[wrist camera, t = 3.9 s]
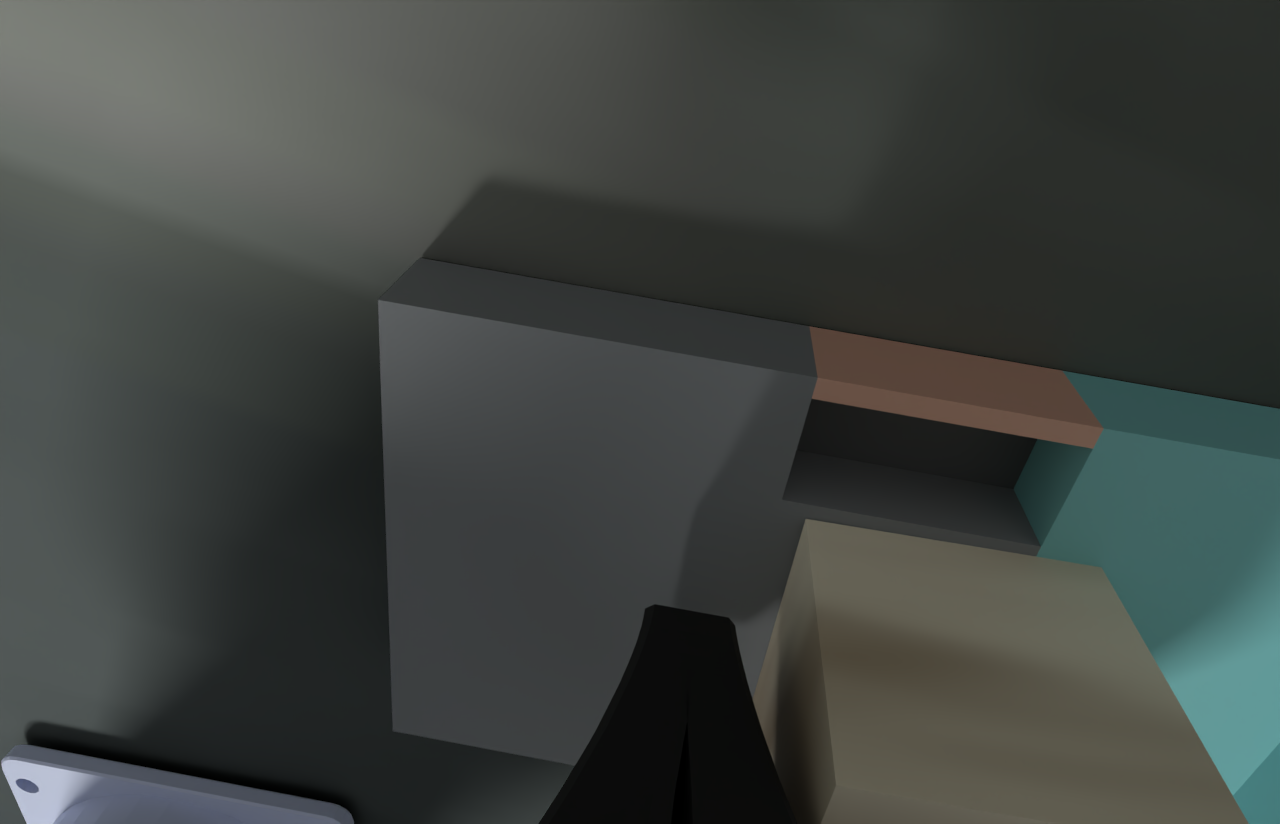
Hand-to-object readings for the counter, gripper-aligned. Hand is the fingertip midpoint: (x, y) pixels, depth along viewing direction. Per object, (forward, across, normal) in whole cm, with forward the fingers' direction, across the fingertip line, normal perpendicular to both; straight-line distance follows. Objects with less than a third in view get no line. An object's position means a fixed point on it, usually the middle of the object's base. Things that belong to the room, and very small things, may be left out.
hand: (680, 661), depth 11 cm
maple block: (+1, -3, 0) cm, 3 cm away
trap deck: (+2, -2, 0) cm, 3 cm away
